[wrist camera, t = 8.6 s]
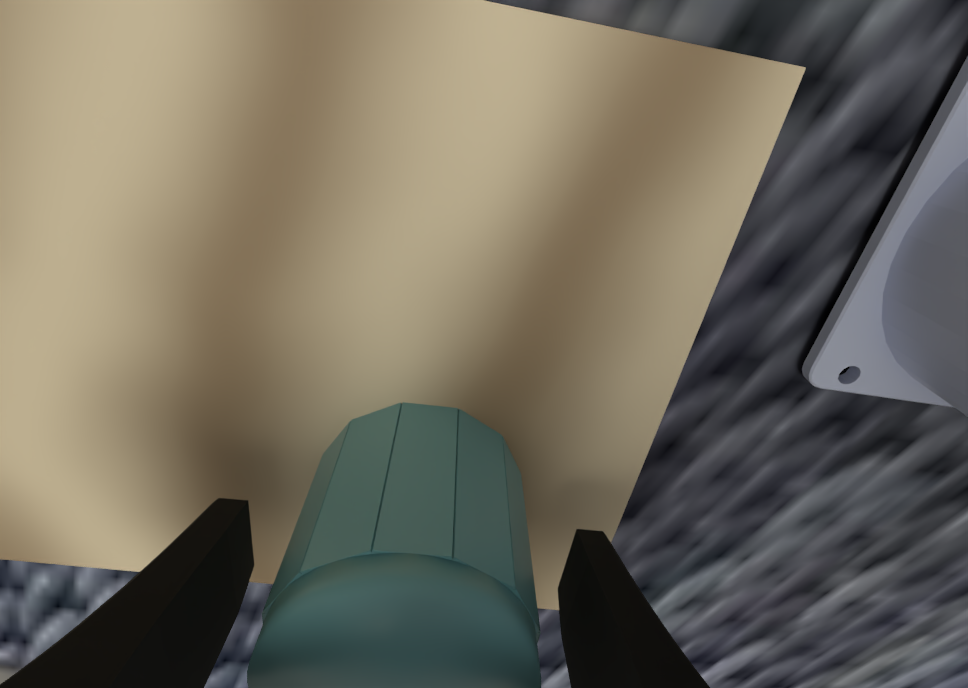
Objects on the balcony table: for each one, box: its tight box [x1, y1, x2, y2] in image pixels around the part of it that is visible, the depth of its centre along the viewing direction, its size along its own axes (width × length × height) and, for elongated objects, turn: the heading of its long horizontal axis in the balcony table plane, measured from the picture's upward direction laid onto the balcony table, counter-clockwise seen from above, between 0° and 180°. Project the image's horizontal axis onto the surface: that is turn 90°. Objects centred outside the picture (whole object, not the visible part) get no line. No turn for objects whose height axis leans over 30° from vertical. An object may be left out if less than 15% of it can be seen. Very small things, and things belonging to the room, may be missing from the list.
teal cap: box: [247, 402, 541, 688], centre depth 11 cm, size 5×5×5 cm
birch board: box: [0, 0, 806, 610], centre depth 12 cm, size 19×15×1 cm
